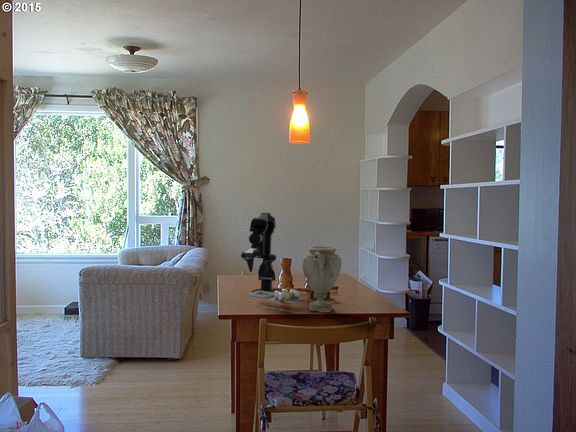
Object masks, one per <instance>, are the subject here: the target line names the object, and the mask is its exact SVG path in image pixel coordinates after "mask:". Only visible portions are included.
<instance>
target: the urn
mask: <svg viewBox="0 0 576 432" xmlns="http://www.w3.org/2000/svg"><path fill="white" fill-rule="evenodd" d="M307 250H308V251H309V252H306V253H305V255H304V256H303V259H302V270H303V275H304V276H305V279H306V281H307V284H308V286H309V287H310V288H311V289H312V290H313V291H314V292H315V293H316V294H315V295H316V296H317V299H316V300H314V301H311V302H310V303H309V305H308V307H309V312H310V311H332V312H333V306H332V303H331V302H329V301H327V300H326V301H325V298H324V297H325V295H326V293H328V292H329V291H330V292H331V290H332V289H333V288H334V286H335V284H336V282H337V279H338V278H339V276H340V272H341V269H342V268H341V267H342V258H341V257H340V256H339V254H338V253H335V252H336V251H337V248H336V247H334V246H309V247H308V248H307ZM310 288H309V289H310Z"/></svg>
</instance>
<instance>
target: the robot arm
mask: <svg viewBox="0 0 576 432" xmlns="http://www.w3.org/2000/svg"><path fill="white" fill-rule="evenodd" d="M249 226H250V227H249V232H251V234H249V237H248V241H249V243H250V244H251V245H250V248H248V249H247V250H245V251H243V252H241V254H240V258H242V260H244V261H245V262H246V264H247V268H248V270H249V272H250V273H252V272H253V268H254V262H255V261H254V260H255V259H256V258H257V259H262V262H261V263H260V265H259V268H258V272H257V275H258V277H257V278H258V281H260V289H258V291H266V292H271V291H273V290H274V289H273V281H276V272H275V270H274V265H273V264H272V263H273V262H274V263H275V261H276V260H277V256H276V254H272V236H273V235H274V233H275V231H276V230H275V229H276V228H277V227H276V226H277V221H276V219H275V217H274V216H273V215H272V213H270V212H261V214H260V215H259V216H258V217H253V218H252V220H251V222H250V225H249Z"/></svg>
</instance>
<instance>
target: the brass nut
mask: <svg viewBox="0 0 576 432" xmlns="http://www.w3.org/2000/svg"><path fill="white" fill-rule="evenodd" d="M281 292H282V291H281ZM282 293H284V300H292V294H293V292H290V290H288V291H283V292H282Z"/></svg>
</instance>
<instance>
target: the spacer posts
mask: <svg viewBox="0 0 576 432" xmlns="http://www.w3.org/2000/svg"><path fill="white" fill-rule="evenodd" d="M283 291H290V292H293V294H292V298H294V299H299V298H300V291H299V290H296V289H295V288H294V289H291V288H290V289H289V290H288V289H287V288H283V289H281V291H279V290H274V293H275V294H274V296H273V298H274V299H275V300H278V301H277V302H280V301H284V293H282V292H283Z"/></svg>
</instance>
